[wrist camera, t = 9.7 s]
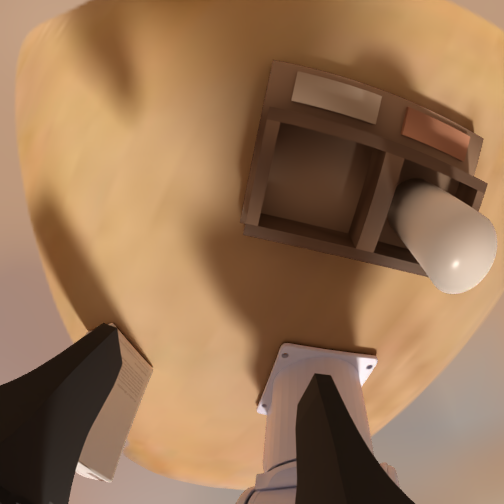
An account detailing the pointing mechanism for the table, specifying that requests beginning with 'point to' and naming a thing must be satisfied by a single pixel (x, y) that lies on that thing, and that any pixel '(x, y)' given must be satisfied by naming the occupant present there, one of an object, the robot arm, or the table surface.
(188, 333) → the table surface
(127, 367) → the skincare box
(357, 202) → the socket board
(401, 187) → the plug
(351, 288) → the table surface
